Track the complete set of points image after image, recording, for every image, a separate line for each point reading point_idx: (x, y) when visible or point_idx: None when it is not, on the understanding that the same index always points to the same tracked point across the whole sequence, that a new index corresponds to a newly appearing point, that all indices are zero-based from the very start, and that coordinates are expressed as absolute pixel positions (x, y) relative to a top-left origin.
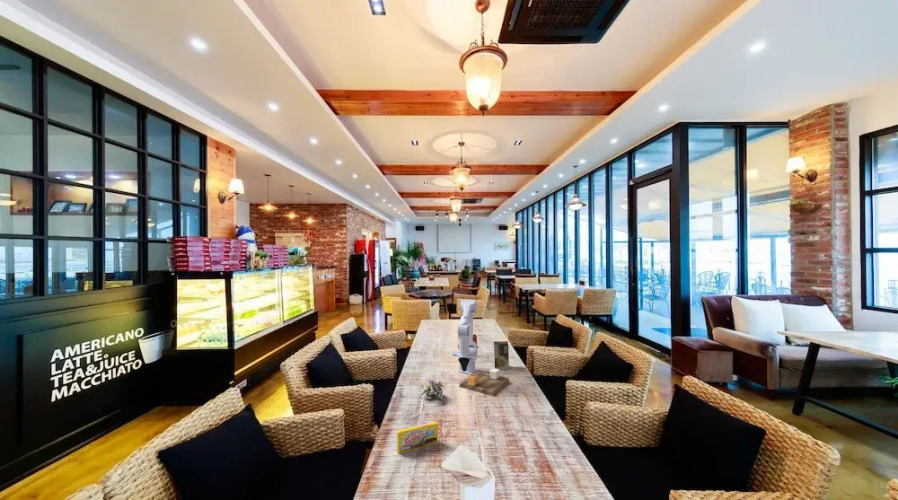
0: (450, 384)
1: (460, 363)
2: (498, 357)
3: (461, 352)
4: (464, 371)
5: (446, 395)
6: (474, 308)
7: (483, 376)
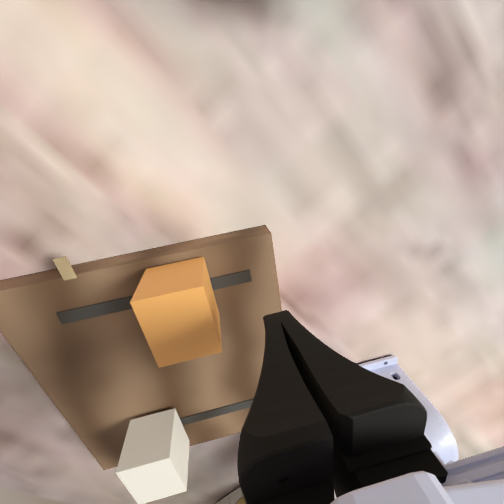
0: (337, 209)
1: (340, 359)
2: None
3: None
4: (264, 316)
5: (239, 29)
6: None
7: (224, 397)
